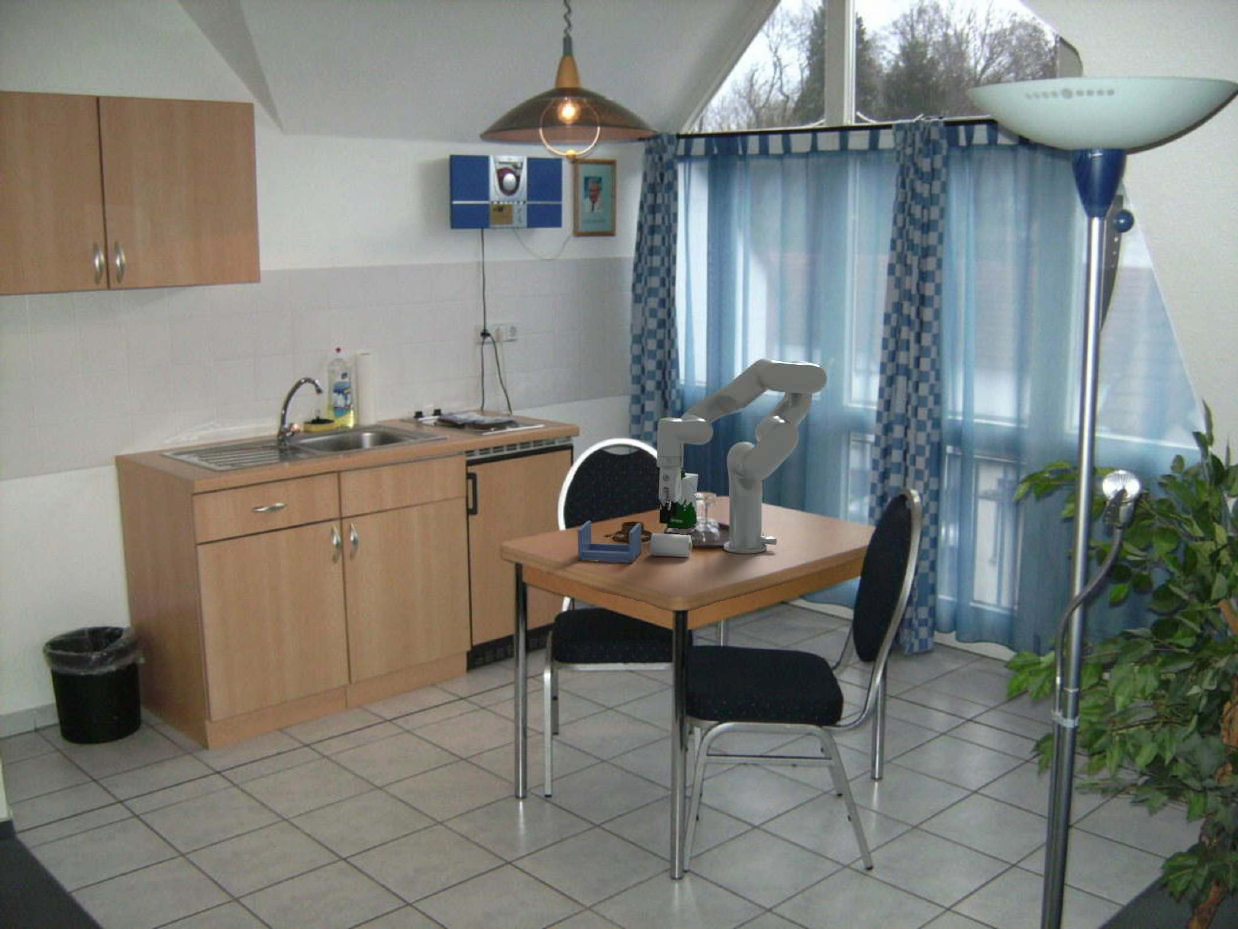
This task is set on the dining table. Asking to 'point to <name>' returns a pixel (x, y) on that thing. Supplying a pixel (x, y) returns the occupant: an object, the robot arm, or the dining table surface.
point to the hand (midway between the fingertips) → (668, 519)
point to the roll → (670, 545)
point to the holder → (608, 546)
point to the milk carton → (686, 503)
